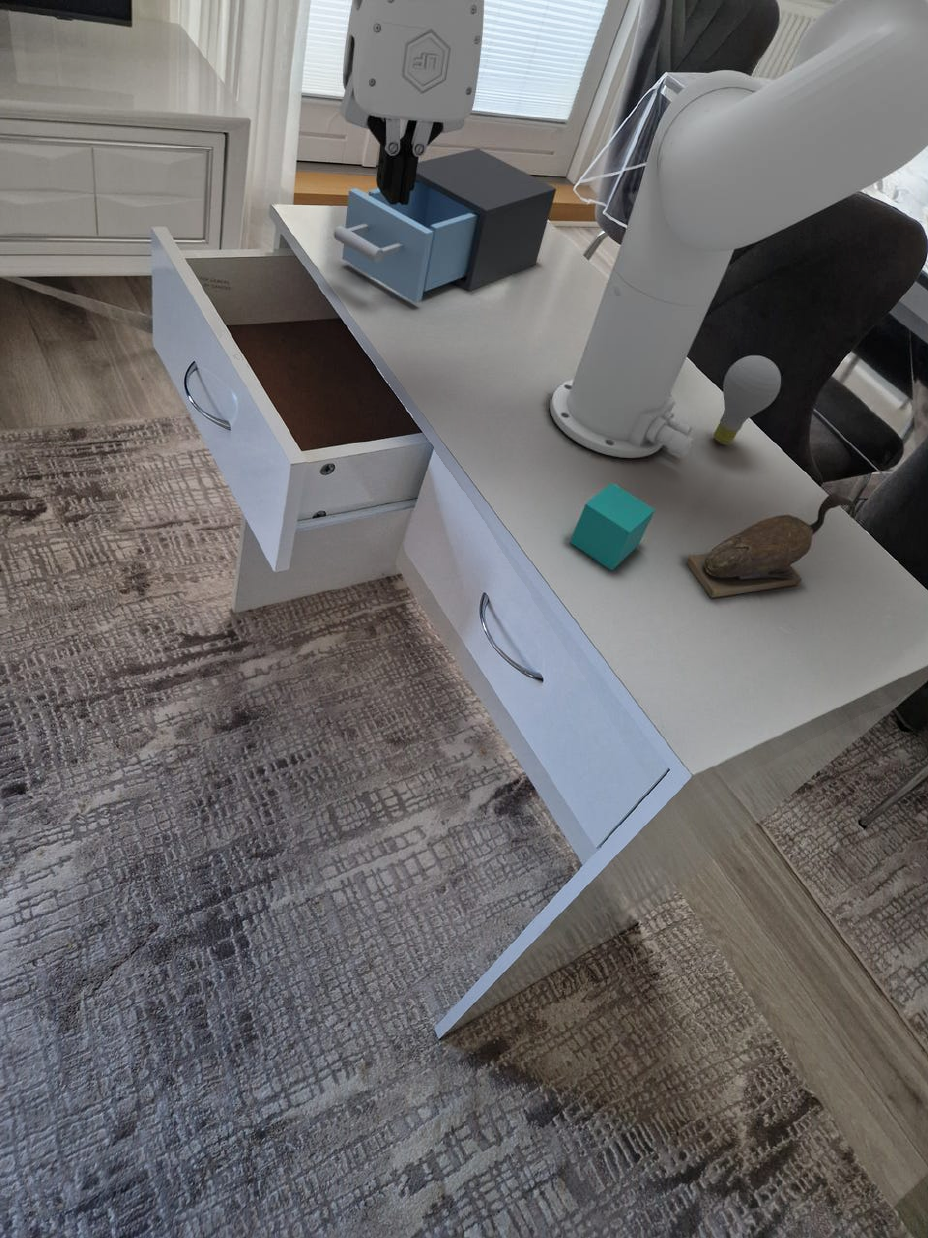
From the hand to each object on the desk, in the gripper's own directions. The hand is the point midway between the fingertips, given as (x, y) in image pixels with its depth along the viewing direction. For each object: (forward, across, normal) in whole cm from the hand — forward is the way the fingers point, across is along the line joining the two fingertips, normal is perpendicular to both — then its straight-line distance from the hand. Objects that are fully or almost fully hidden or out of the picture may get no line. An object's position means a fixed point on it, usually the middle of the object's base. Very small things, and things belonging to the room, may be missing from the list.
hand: (393, 197), depth 72 cm
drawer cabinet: (+16, +21, +22) cm, 34 cm away
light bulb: (+17, +33, -19) cm, 41 cm away
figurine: (+17, +24, -37) cm, 47 cm away
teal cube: (+16, +11, -30) cm, 36 cm away
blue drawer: (+15, +10, +16) cm, 24 cm away
